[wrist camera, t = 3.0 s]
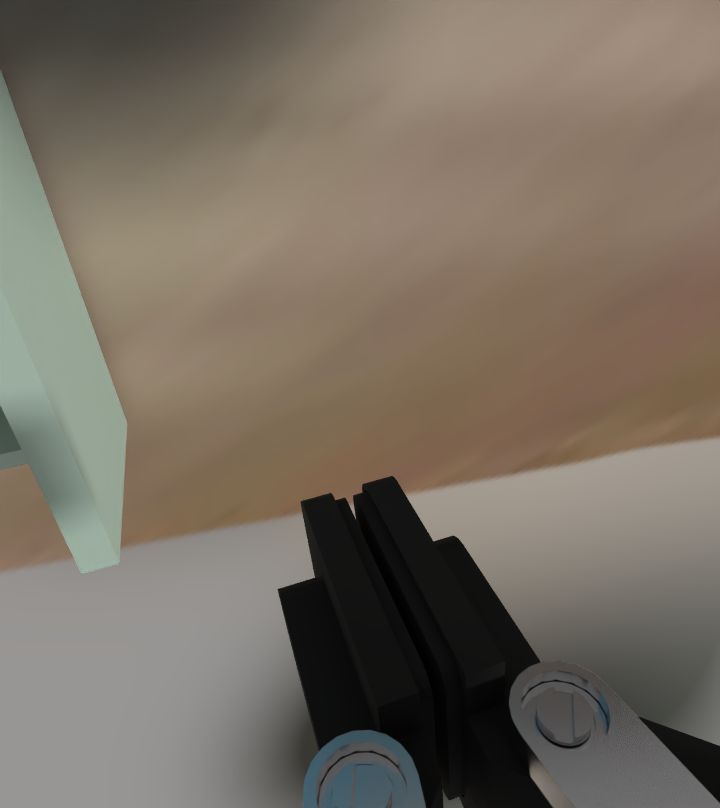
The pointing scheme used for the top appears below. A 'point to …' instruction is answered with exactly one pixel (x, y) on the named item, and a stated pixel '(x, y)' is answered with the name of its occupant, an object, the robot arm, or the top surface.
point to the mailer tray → (54, 367)
